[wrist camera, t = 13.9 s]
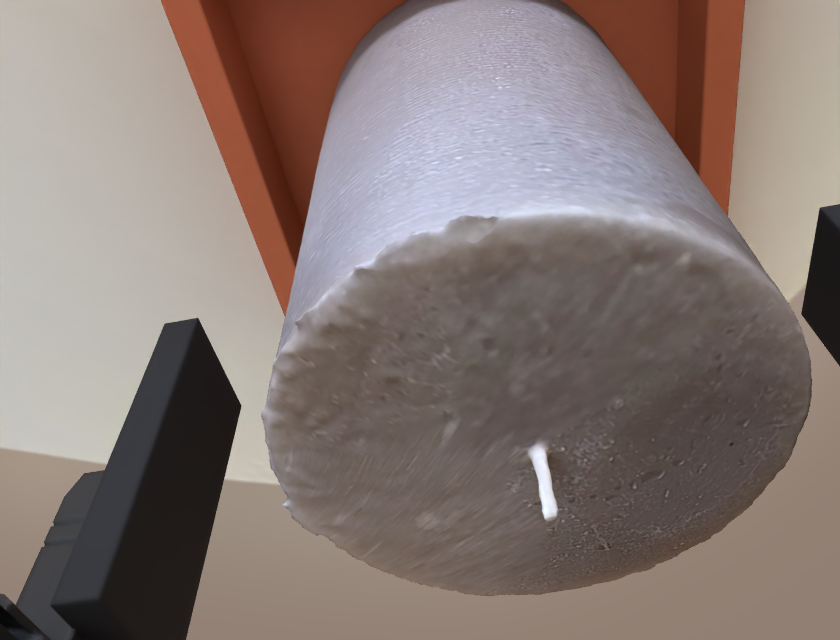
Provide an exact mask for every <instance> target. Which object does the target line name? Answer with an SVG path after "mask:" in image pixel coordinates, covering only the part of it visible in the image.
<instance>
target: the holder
mask: <svg viewBox="0 0 840 640" xmlns="http://www.w3.org/2000/svg"><path fill="white" fill-rule="evenodd" d="M406 1H407V0H161V2H162V5H163V7H164V10H165V12H166V15H167V18H168V20H169V23H170V25H171V28H172V30H173V33H174V35H175V38H176V40H177V43H178V46H179V48H180V51H181V53H182V56H183V58H184V61H185V63H186V66H187V68H188V71H189V73H190V76H191V79H192V81H193V84H194V86H195V89H196V91H197V94H198V96H199V99H200V101H201V104H202V107H203V109H204V112H205V114H206V117H207V119H208V122H209V124H210V127H211V129H212V132H213V135H214V137H215V140H216V142H217V145H218V147H219V150H220V152H221V155H222V157H223V160H224V163H225V165H226V168H227V170H228V173H229V175H230V178H231V180H232V183H233V185H234V188H235V191H236V193H237V196H238V198H239V201H240V203H241V206H242V208H243V211H244V213H245V216H246V219H247V221H248V224H249V226H250V229H251V231H252V234H253V236H254V239H255V241H256V244H257V247H258V249H259V252H260V254H261V257H262V259H263V262H264V264H265V267H266V269H267V272H268V274H269V277H270V280H271V282H272V285H273V287H274V290H275V292H276V295H277V297H278V300H279V302H280V305H281V308H282V310H283V313H284V315H285V316H286V311H287V307H288V303H289V299H290V294H291V289H292V285H293V281H294V275H295V270H296V266H297V262H298V257H299V252H300V247H301V243H302V238H303V233H304V228H305V224H306V219H307V215H308V210H309V205H310V200H311V195H312V190H313V185H314V180H315V174H316V170H317V166H318V161H319V156H320V151H321V148H322V143H323V139H324V134H325V131H326V126H327V122H328V118H329V114H330V110H331V106H332V102H333V98H334V95H335V91H336V88H337V85H338V82H339V79H340V76H341V74H342V72H343V70H344V68H345V66H346V64H347V62H348V60H349V58H350V56H351V55H352V53H353V51H354V50H355V48H356V46H357V45H358V43H359V42H360V41H361V40H362V39H363V38H364V36H365V35H366V34H367V33H368V32H369V31H370V30H371V29H372V28H373V26H374V25H375V24H376V23H377V22H378V21H379V20H381V19H382V18H383V17H384V16H385V15H387V14H388V13H389V12H391V11H392V10H393V9H395V8H396V7H398V6H400V5H402V4H403V3H404V2H406ZM560 1H562V2H564V3H566V4H567V5H569V6H570V7H571V8H572V9H573V10H574V11H575V12H576V13H578V14H579V15H580V16H581V17H582V18H584V19H585V21H587V22H588V23H589V24H590V25H591V26H592V27H593V28H594V29H595V30H596V31H597V32H598V34H599V35H600V36H601V38H602V39H603V41H604V42H605V44H606V45H607V47H608V48H609V49H610V51H611V53H612V54H613V55H614V57H615V58H616V60H617V61H618V62H619V64H620V65H621V66H622V68H623V69H624V70H625V71H626V73H627V74H628V75H629V76H630V78H631V79H632V81H633V82H634V84H635V86H636V87H637V89H638V90H639V91H640V93H641V94H642V95H643V97H644V98H645V100H646V101H647V103H648V104H649V105H650V107H651V108H652V110H653V111H654V113H655V114H656V116H657V117H658V119H659V120H660V121H661V123H662V124H663V125H664V127H665V128H666V130H667V131H668V133H669V134H670V135H671V137H672V138H673V140H674V141H675V142H676V144H677V145H678V147H679V148H680V150H681V151H682V153H683V154H684V156H685V157H686V158H687V159H688V161H689V162H690V164H691V165H692V167H693V168H694V170H695V171H696V173H697V174H698V176H699V177H700V179H701V180H702V181H703V183H704V184H705V185H706V187H707V189H708V190H709V192H710V193H711V194H712V196H713V197H714V198H715V200H716V201H717V203H718V204H719V206H720V207H721V208H722V210H723V211H724V213H725V214H726V215H727V217H728V206H729V193H730V181H731V168H732V156H733V143H734V131H735V118H736V106H737V93H738V81H739V68H740V56H741V43H742V31H743V18H744V6H745V0H560Z"/></svg>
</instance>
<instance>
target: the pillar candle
mask: <svg viewBox="0 0 840 640" xmlns="http://www.w3.org/2000/svg"><path fill="white" fill-rule="evenodd" d="M811 386H812V379H811V361H810V357H809V352H808V348H807V346H806V343H805V339H804V336H803V332H802V329H801V327H800V325H799V323H798V320H797V318H796V316H795V314H794V312H793V311H792V309H791V307H790V306H789V304H788V302H787V301H786V299H785V298H784V296H783V295H782V293H781V292H780V290H779V289H778V287H777V286H776V285H775V283H774V282H773V281H772V280H771V278H770V277H769V276H768V274H767V273H766V272H765V270H764V269H763V267H762V266H761V264H760V262H759V261H758V259H757V258H756V256H755V255H754V253H753V252H752V250H751V249H750V248H749V246H748V245H747V243H746V242H745V240H744V239H743V237H742V236H741V234H740V233H739V232H738V231H737V229H736V228H735V226H734V225H733V223H732V222H731V221H730V219H729V218H728V217H727V215H726V214H725V213H724V211H723V210H722V208H721V207H720V206H719V204H718V203H717V201H716V200H715V198H714V197H713V196H712V194H711V193H710V192H709V190H708V189H707V187H706V185H705V184H704V183H703V181H702V180H701V179H700V177H699V176H698V174H697V173H696V171H695V170H694V168H693V167H692V165H691V164H690V162H689V161H688V159H687V158H686V157H685V156H684V154H683V153H682V151H681V150H680V148H679V147H678V145H677V144H676V142H675V141H674V140H673V138H672V137H671V135H670V134H669V133H668V131H667V130H666V128H665V127H664V125H663V124H662V123H661V121H660V120H659V119H658V117H657V116H656V114H655V113H654V111H653V110H652V108H651V107H650V105H649V104H648V103H647V101H646V100H645V98H644V97H643V95H642V94H641V93H640V91H639V90H638V89H637V87H636V86H635V84H634V82H633V81H632V79H631V78H630V76H629V75H628V74H627V73H626V71H625V70H624V69H623V68H622V66H621V65H620V64H619V62H618V61H617V60H616V58H615V57H614V55H613V54H612V53H611V51H610V49H609V48H608V47H607V45H606V44H605V42H604V41H603V39H602V38H601V36H600V35H599V34H598V32H597V31H596V30H595V29H594V28H593V27H592V26H591V25H590V24H589V23H588V22H587V21H585V19H584V18H582V17H581V16H580V15H579V14H578V13H576V12H575V11H574V10H573V9H572V8H571V7H570V6H569V5H567V4H566V3H564V2H562V1H560V0H407V1H406V2H404V3H403V4H402V5H400V6H398V7H396V8H395V9H393V10H392V11H391V12H389V13H388V14H387V15H385V16H384V17H383V18H382V19H381V20H379V21H378V22H377V23H376V24H375V25H374V26H373V28H372V29H371V30H370V31H369V32H368V33H367V34H366V35H365V36H364V38H363V39H362V40H361V41H360V42H359V43H358V45H357V46H356V48H355V50H354V51H353V53H352V55H351V56H350V58H349V60H348V62H347V64H346V66H345V68H344V70H343V72H342V74H341V76H340V79H339V82H338V85H337V88H336V91H335V95H334V98H333V102H332V106H331V110H330V114H329V118H328V122H327V126H326V131H325V134H324V139H323V143H322V148H321V151H320V156H319V161H318V166H317V170H316V174H315V180H314V185H313V190H312V195H311V200H310V205H309V210H308V215H307V219H306V224H305V228H304V233H303V238H302V243H301V247H300V252H299V257H298V262H297V266H296V270H295V275H294V281H293V285H292V289H291V294H290V299H289V303H288V307H287V311H286V316H285V321H284V325H283V330H282V334H281V339H280V343H279V347H278V351H277V356H276V359H275V361H274V363H273V371H272V375H271V379H270V384H269V390H268V395H267V401H266V405H265V408H264V410H263V411H262V413H261V415H262V420H263V424H264V429H265V435H266V440H265V441H266V443H267V446H268V450H269V457H270V460H269V461H270V466H271V469H272V470H273V471H274V474H275V475H276V477H277V478H278V481H279V483H280V485H281V487H282V489H283V490H284V492H285V493H286V495H287V496H288V497H287V501H286V502H285V503H284V504H283V506H285V507H286V508H287V509H289V511H290V512H291V515H292V518H293V519H294V520H295V521H297V522H298V523H299V524H301V526H302V527H303V528H305V529H306V530H308V531H310V532H311V533H313V534H315V535H317V536H318V535H323V536H325V537H327V538H328V539H329V540H331V541H332V542H334V543H335V545H336V546H337V547H338V548H340V549H343V550H345V551H347V552H348V554H350V555H351V556H352V557H354V558H356V559H358V560H362V561H364V562H366V563H367V564H368V565H370V566H372V567H375V568H377V569H379V570H381V571H384V572H386V573H389V574H392V575H395V576H397V577H399V578H402V579H406V580H409V581H411V582H415V583H418V584H421V585H427V586H430V587H437V588H441V589H446V590H452V591H458V592H461V593H465V594H473V595H480V596H495V595H528V594H534V595H538V594H544V593H550V592H557V591H563V590H569V589H577V588H581V587H586V586H591V585H593V584H597V583H603V582H609V581H613V580H617V579H620V578H622V577H624V576H626V575H629V574H632V573H636V572H641V571H646V570H649V569H651V568H652V567H654V566H655V565H656V564H658V563H662V562H664V561H666V560H669V559H672V558H673V557H676V556H677V555H678V554H680V553H681V552H683V551H685V550H688V549H689V548H691V547H693V546H695V545H697V544H699V543H701V542H704V541H706V540H708V539H710V538H711V536H712V535H714V534H716V533H718V532H720V531H721V530H722V529H723V528H724V527H726V525H727V524H728V523H729V522H731V521H732V520H733V519H735V518H736V517H737V516H739V515H740V514H741V513H743V512H744V511H745V510H746V509H747V508H749V506H751V505H752V503H753V501H754V500H755V499H756V498H757V497H758V496H759V495H760V494H761V493H762V492H763V491H764V489H765V488H766V486H767V485H768V484H769V483H770V482H771V481H772V480H773V479H774V477H775V476H776V474H777V473H778V472H779V471H780V470H781V469H783V468H784V466H785V464H786V463H787V461H788V460H789V458H790V456H791V454H792V451H793V448H794V446H795V444H796V440H797V437H798V435H799V433H800V431H801V429H802V427H803V425H804V422H805V420H806V418H807V416H808V412H809V407H810V400H811Z"/></svg>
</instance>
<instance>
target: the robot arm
mask: <svg viewBox="0 0 840 640" xmlns="http://www.w3.org/2000/svg"><path fill="white" fill-rule="evenodd" d="M802 316H803V317H804V318H805V320H806V321H807V322H808V324H809V325H810V327H811V328H812V329H813V331H814V332H815V333H816V335H817V336H818V337H819V339H820V340H821V341H822V343H823V344H824V346H825V347H826V348H827V350H828V351H829V352H830V354H831V355H832V356H833V358H834V359H835V360H836V362H837V363H838V364H839V366H840V204H839V205H833V206H827V207H822V208H820V210H819V215H818V221H817V227H816V233H815V239H814V244H813V250H812V256H811V262H810V267H809V273H808V279H807V285H806V290H805V296H804V302H803V308H802ZM240 410H241V404H240V402H239V400H238V398H237V396H236V394H235V392H234V390H233V388H232V386H231V384H230V382H229V380H228V378H227V376H226V374H225V372H224V370H223V368H222V366H221V363H220V361H219V359H218V357H217V355H216V353H215V351H214V349H213V347H212V345H211V343H210V341H209V339H208V337H207V335H206V333H205V331H204V329H203V327H202V325H201V323H200V321H199V319H198V318H195V319H189V320H183V321H178V322H172V323H166V324H165V325H164V327H163V329H162V332H161V334H160V337H159V339H158V342H157V344H156V347H155V349H154V351H153V354H152V356H151V359H150V361H149V364H148V366H147V369H146V371H145V373H144V376H143V378H142V381H141V383H140V386H139V388H138V391H137V393H136V395H135V398H134V400H133V403H132V405H131V408H130V410H129V412H128V415H127V417H126V420H125V422H124V425H123V427H122V430H121V432H120V434H119V437H118V439H117V442H116V444H115V447H114V449H113V452H112V454H111V456H110V459H109V461H108V464H107V466H106V469H105V470H103V471H97V472H90V473H84V474H83V476H82V477H81V478H80V479H79V480H78V482H77V483H76V484H75V485H74V486H73V487H72V489H71V490H70V491H69V492H68V493H67V494H66V496H65V497H64V499H63V501H62V504H61V506H60V508H59V510H58V512H57V514H56V516H55V519H54V521H53V523H54V526H52V527H51V528H50V530H49V532H48V534H47V537H46V539H45V541H44V543H45V546H44V547H42V548H41V550H40V552H39V554H38V557H37V559H36V561H35V563H34V565H33V568H32V570H31V572H30V575H29V577H28V579H27V581H26V583H25V585H24V588H23V590H22V592H21V594H20V597H19V599H18V601H17V603H16V605H15V604H14V603H13V602H12V601H11V600H9V598H8V597H6V596H5V595H4V594H0V640H186V637H187V633H188V628H189V624H190V620H191V616H192V612H193V607H194V603H195V599H196V595H197V590H198V586H199V582H200V578H201V574H202V569H203V565H204V561H205V557H206V553H207V548H208V544H209V540H210V536H211V532H212V527H213V523H214V518H215V515H216V510H217V506H218V502H219V498H220V493H221V489H222V485H223V481H224V477H225V473H226V469H227V464H228V460H229V456H230V452H231V448H232V443H233V439H234V435H235V431H236V426H237V422H238V418H239V414H240Z"/></svg>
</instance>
